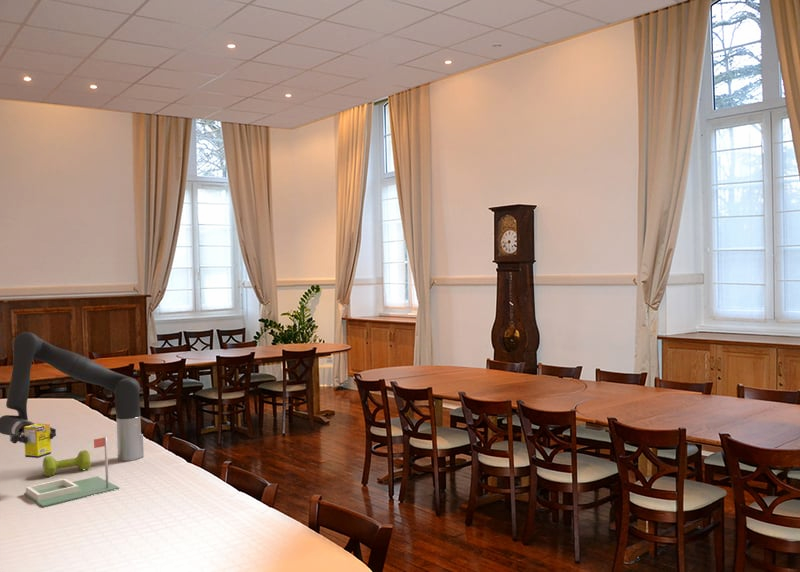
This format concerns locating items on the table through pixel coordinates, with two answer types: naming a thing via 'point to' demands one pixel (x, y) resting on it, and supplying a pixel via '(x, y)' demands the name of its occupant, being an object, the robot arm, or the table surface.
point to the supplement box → (37, 440)
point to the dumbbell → (66, 463)
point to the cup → (71, 486)
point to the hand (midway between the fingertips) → (39, 438)
